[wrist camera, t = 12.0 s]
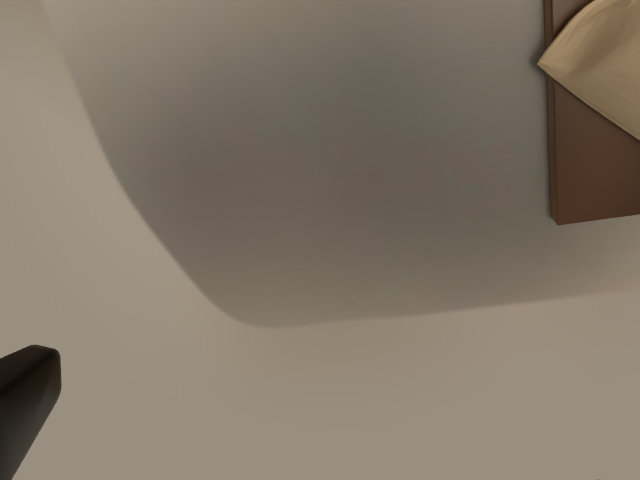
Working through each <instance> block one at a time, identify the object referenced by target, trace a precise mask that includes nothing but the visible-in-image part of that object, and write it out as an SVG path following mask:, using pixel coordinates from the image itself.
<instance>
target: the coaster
mask: <svg viewBox="0 0 640 480" xmlns="http://www.w3.org/2000/svg"><path fill="white" fill-rule="evenodd" d="M593 1H595V0H544V8H545V39H546V49H547V48H548V47H549V46H550V45H551V43H552V42H553V41H554V40H555V38H556V37H557V36H558V35H559V33H560V32H561V31H562V30H563V28H564V27H565V26H566V25H567V23H568V22H569V21H570V20H571V19H572V18H573V17H574V16H575V15H576V14H577V13H578V12H579V11H580V10H582V9H583V8H584V7H585V6H587V5H588V4H590V3H591V2H593ZM547 101H548V132H549V163H550V194H551V217H552V218H553V220H554V221H555V222H556V224H557V225H563V224H571V223H578V222H585V221H593V220H600V219H607V218H615V217H622V216H630V215H637V214H640V140H638V139H637V138H635V137H634V136H633V135H631V134H630V133H628V132H627V131H625V130H624V129H622V128H621V127H619V126H618V125H616V124H615V123H613V122H612V121H610V120H609V119H608V118H606V117H605V116H603V115H602V114H600V113H599V112H598V111H596V110H595V109H593V108H592V107H590V106H589V105H588V104H586V103H585V102H584V101H582V100H581V99H580V98H578V97H577V96H576V95H574V94H573V93H572V92H570V91H569V90H568V89H566V88H565V87H564V86H563V85H561V84H560V83H559V82H557V81H556V80H555V79H554V78H552V77H551V76H550V75H549V74H548V73H547Z"/></svg>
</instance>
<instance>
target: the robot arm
mask: <svg viewBox="0 0 640 480" xmlns="http://www.w3.org/2000/svg"><path fill="white" fill-rule="evenodd" d="M60 391H61V364H60V354H59V352H58V351H57V350H55V349H52V348H48V347H44V346H40V345H31V346H28V347H26V348H23V349H21V350H19V351H16V352H14V353H12V354H10V355H7V356H5V357H3V358H0V480H12V478H13V476H14V475H15V473H16V471H17V469H18V468H19V466H20V464H21V462H22V461H23V459H24V457H25V456H26V454H27V452H28V450H29V449H30V447H31V445H32V443H33V442H34V440H35V438H36V436H37V435H38V433H39V431H40V430H41V428H42V426H43V424H44V423H45V421H46V419H47V418H48V415H49V414H50V412H51V411H52V409H53V407H54V405H55V404H56V402H57V400H58V398H59V395H60Z"/></svg>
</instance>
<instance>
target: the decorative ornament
mask: <svg viewBox="0 0 640 480" xmlns="http://www.w3.org/2000/svg"><path fill="white" fill-rule="evenodd" d="M537 65H539V66H540V67H541V68H542V69H543V70H544V71H545V72H547V73H548V74H549V75H550V76H551V77H552V78H554V79H555V80H556V81H557V82H559V83H560V84H561V85H563V86H564V87H565V88H566V89H568V90H569V91H570V92H572V93H573V94H574V95H576V96H577V97H578V98H580V99H581V100H582V101H584V102H585V103H586V104H588V105H589V106H590V107H592V108H593V109H595V110H596V111H598V112H599V113H600V114H602V115H603V116H605V117H606V118H608V119H609V120H610V121H612V122H613V123H615V124H616V125H618V126H619V127H621V128H622V129H624V130H625V131H627V132H628V133H630V134H631V135H633V136H634V137H635V138H637V139H638V140H640V0H595V1H593V2H591V3H590V4H588V5H587V6H585V7H584V8H583V9H582V10H580V11H579V12H578V13H577V14H576V15H575V16H574V17H573V18H572V19H571V20H570V21H569V22H568V23H567V25H566V26H565V27H564V28H563V30H562V31H561V32H560V33H559V35H558V36H557V37H556V38H555V40H554V41H553V42H552V43H551V45H550V46H549V47H548V48H547V49H546V51H545V52H544V54H543V55H542V57H541V58H540V60H539V61H538V63H537Z"/></svg>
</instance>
